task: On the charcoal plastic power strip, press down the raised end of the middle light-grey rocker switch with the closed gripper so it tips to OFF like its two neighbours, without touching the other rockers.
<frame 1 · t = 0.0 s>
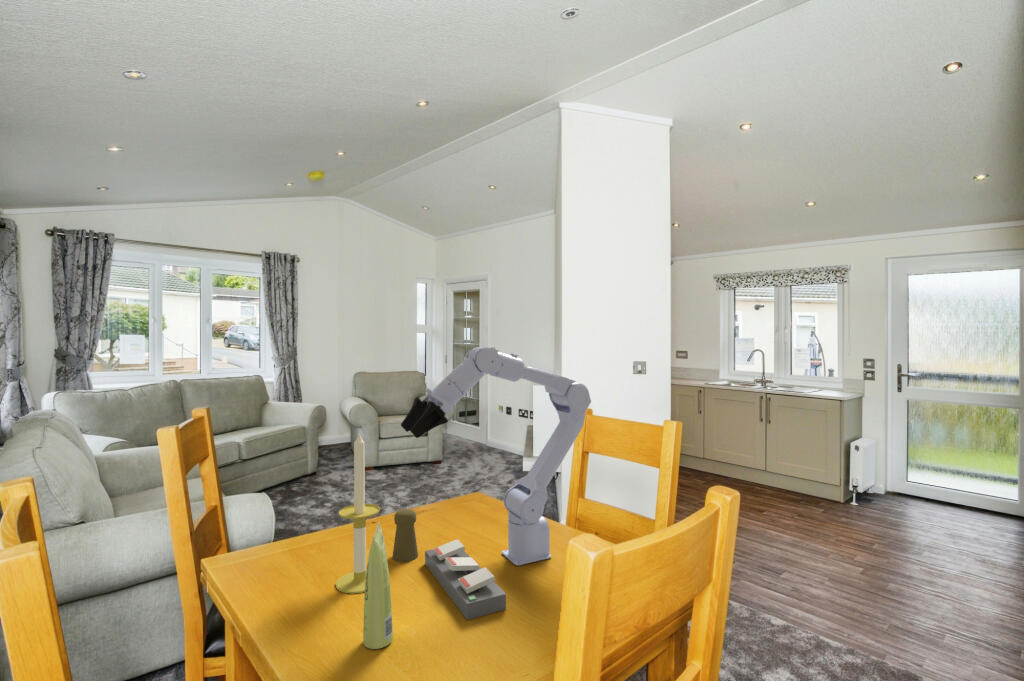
hand: (408, 431, 108), 32 cm above the table, tool tilted 50°, fingers open, 7 cm apart
candle: (359, 582, 108), on the table
strip: (461, 584, 107), on the table
rocker c: (476, 579, 100), point 4 cm above the table, hinge at 11.0°
rocker b: (461, 563, 107), point 4 cm above the table, hinge at -11.0°
tube: (378, 642, 87), on the table
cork: (405, 557, 121), on the table
rocker a: (448, 549, 114), point 4 cm above the table, hinge at 11.0°
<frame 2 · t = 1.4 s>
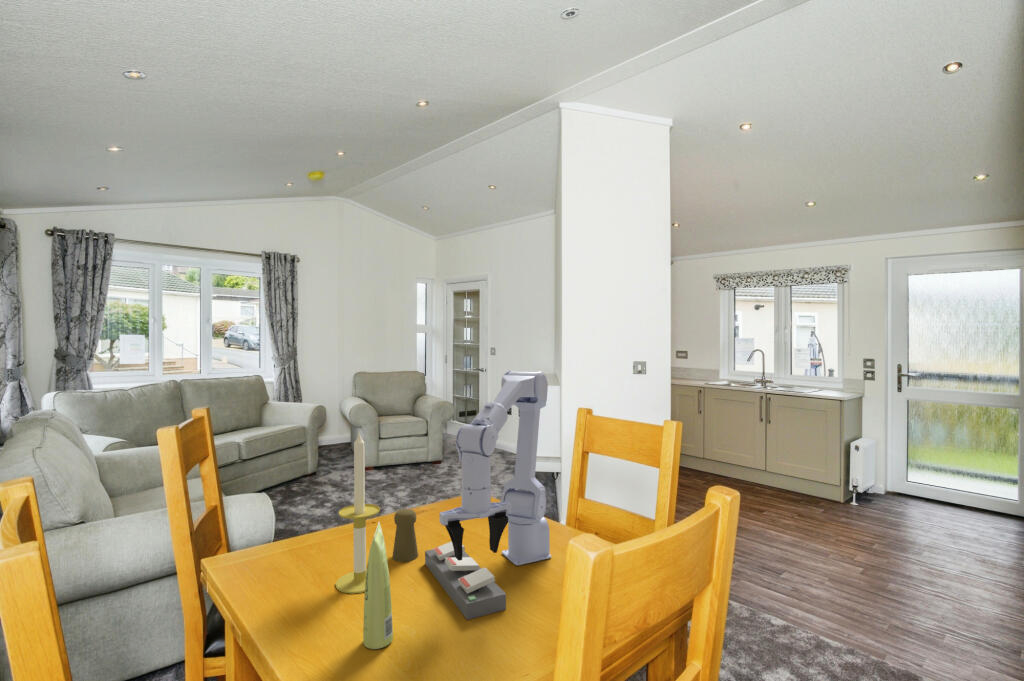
hand: (476, 554, 100), 9 cm above the table, tool pointing down, fingers open, 7 cm apart
nothing on the table moved.
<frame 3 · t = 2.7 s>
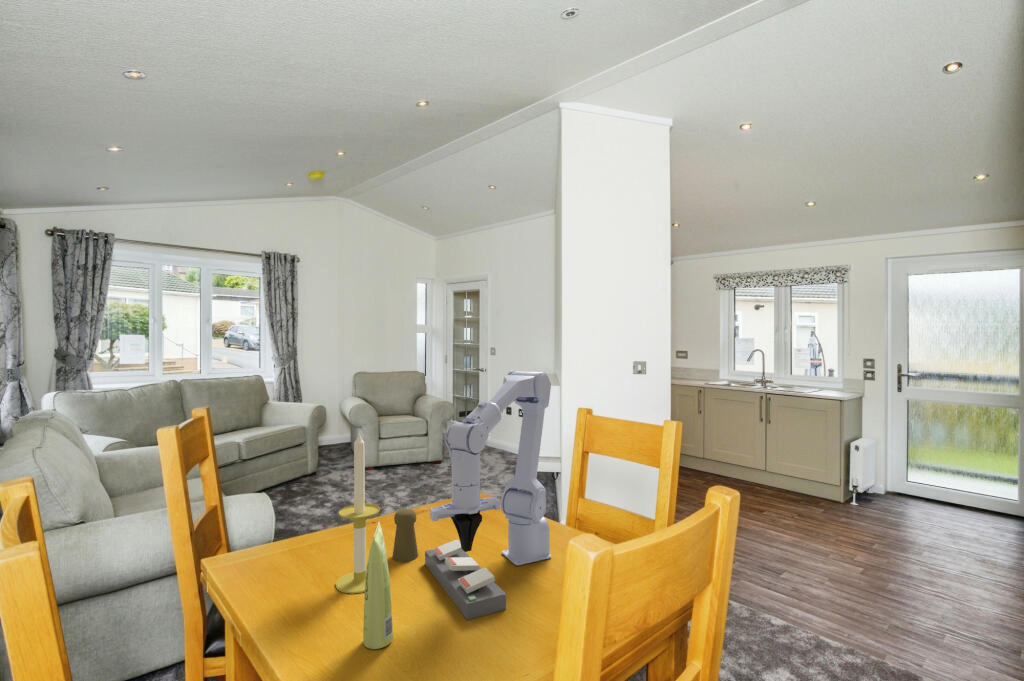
hand: (466, 549, 102), 9 cm above the table, tool pointing down, fingers closed
nothing on the table moved.
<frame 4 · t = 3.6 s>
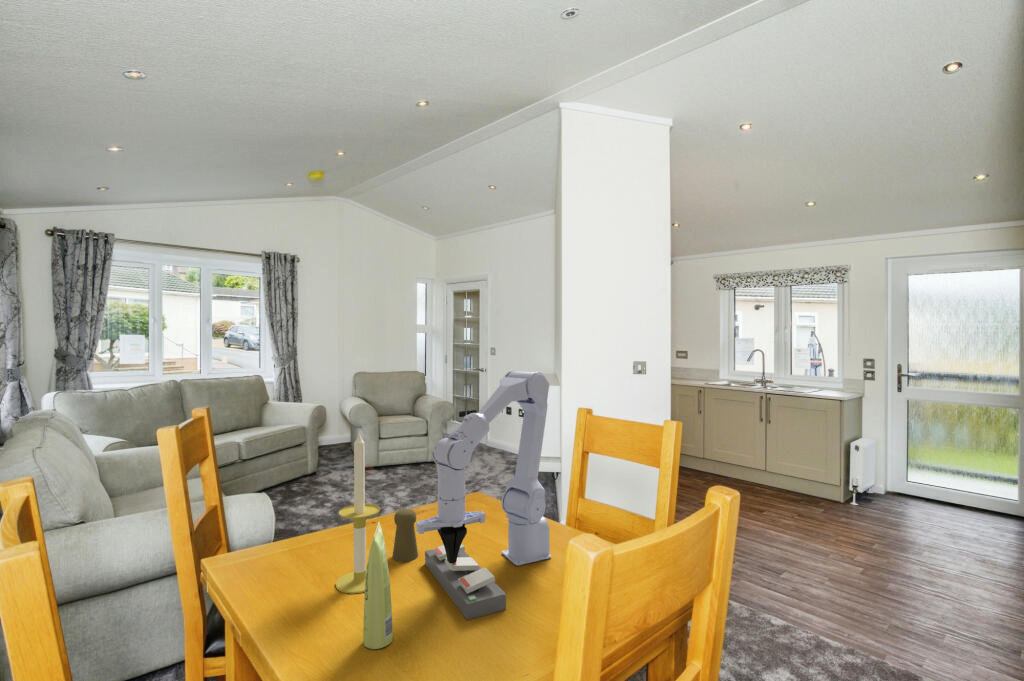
hand: (451, 561, 106), 5 cm above the table, tool pointing down, fingers closed, pressing on rocker b
rocker b: (461, 563, 107), point 4 cm above the table, hinge at -11.0°, touching gripper
everything else where it was.
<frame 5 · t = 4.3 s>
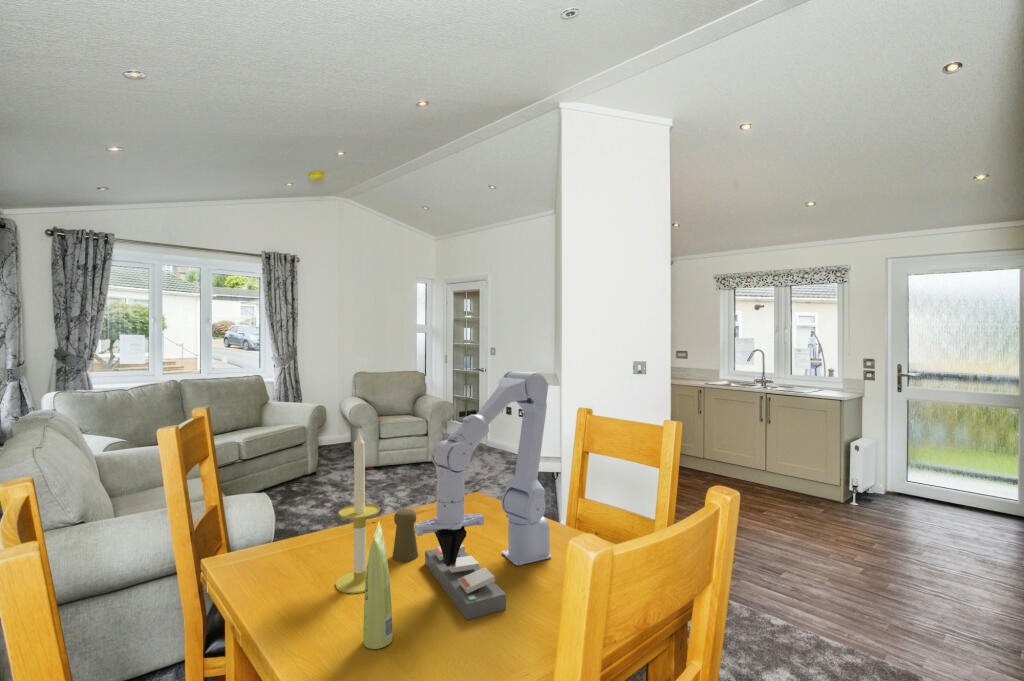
hand: (449, 563, 106), 5 cm above the table, tool pointing down, fingers closed, pressing on rocker b
rocker b: (461, 563, 107), point 4 cm above the table, hinge at -3.4°, touching gripper
everything else where it was.
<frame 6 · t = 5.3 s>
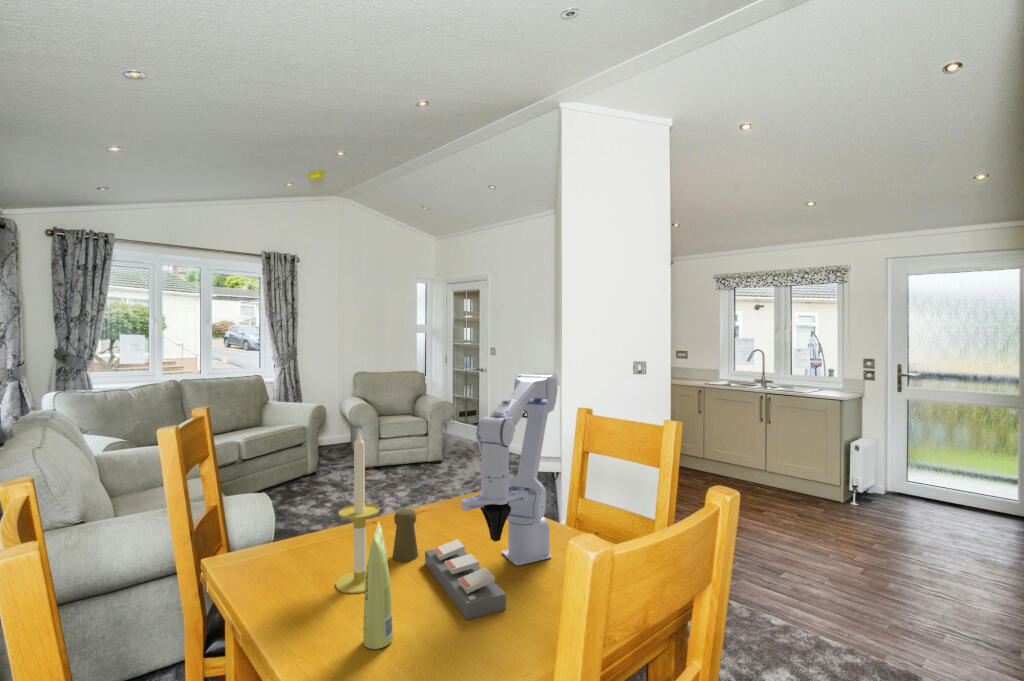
hand: (495, 539, 106), 10 cm above the table, tool pointing down, fingers closed
rocker b: (461, 563, 107), point 4 cm above the table, hinge at 4.3°
everything else where it was.
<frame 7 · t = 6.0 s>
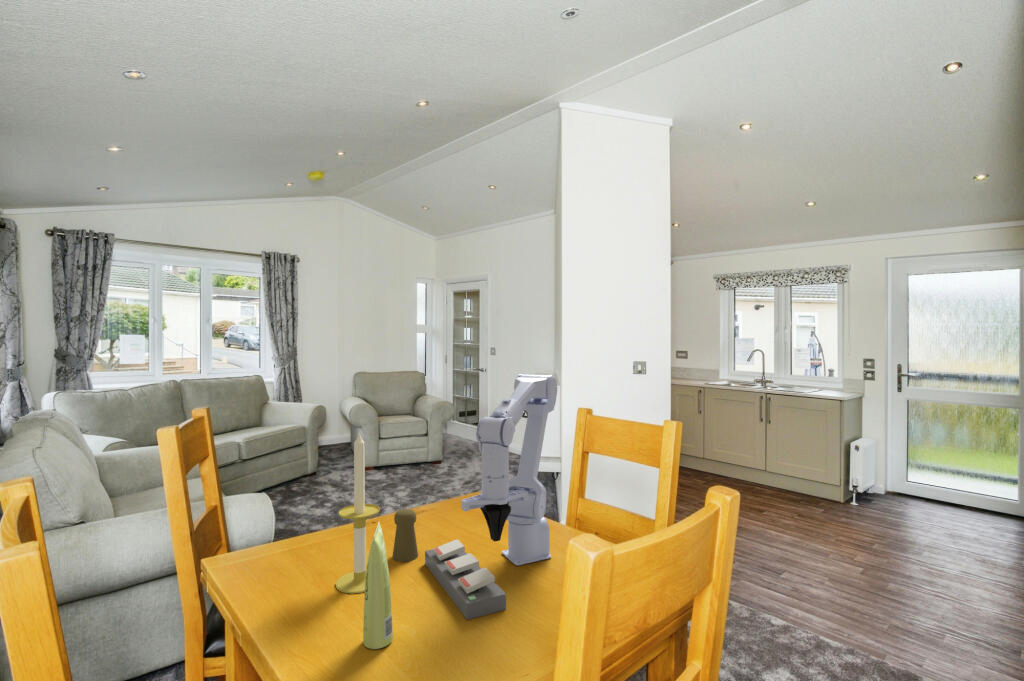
hand: (495, 539, 106), 10 cm above the table, tool pointing down, fingers closed
rocker b: (461, 563, 107), point 4 cm above the table, hinge at 6.9°
everything else where it was.
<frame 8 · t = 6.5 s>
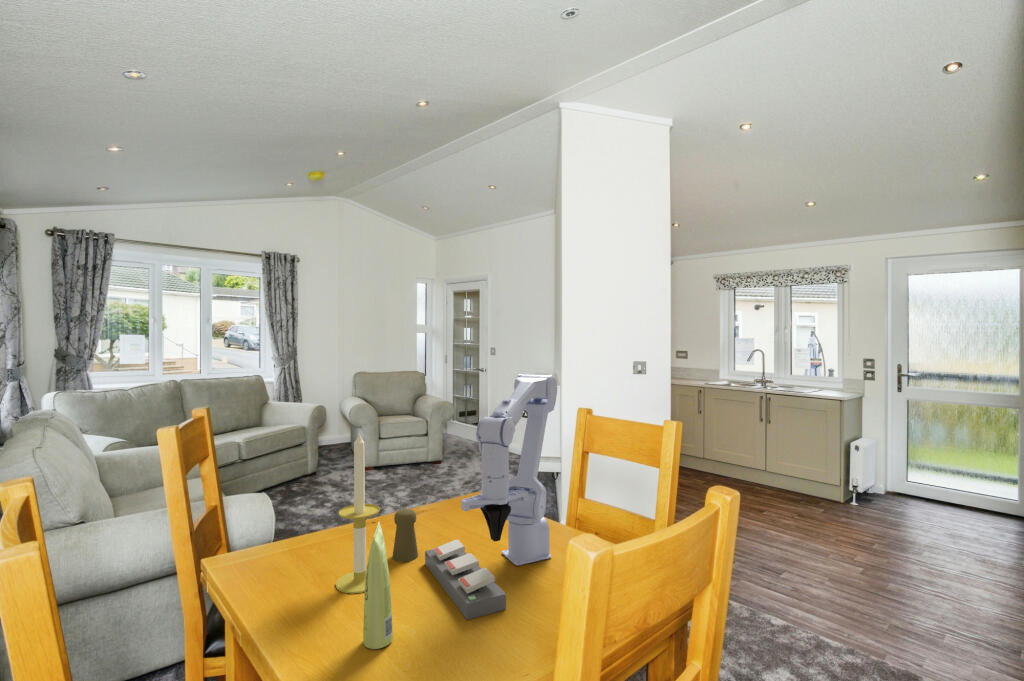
hand: (495, 539, 106), 10 cm above the table, tool pointing down, fingers closed
rocker b: (461, 563, 107), point 4 cm above the table, hinge at 8.0°
everything else where it was.
at the end: rocker b at +8° (first picture: -11°); rocker a at +11° (first picture: +11°); rocker c at +11° (first picture: +11°) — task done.
